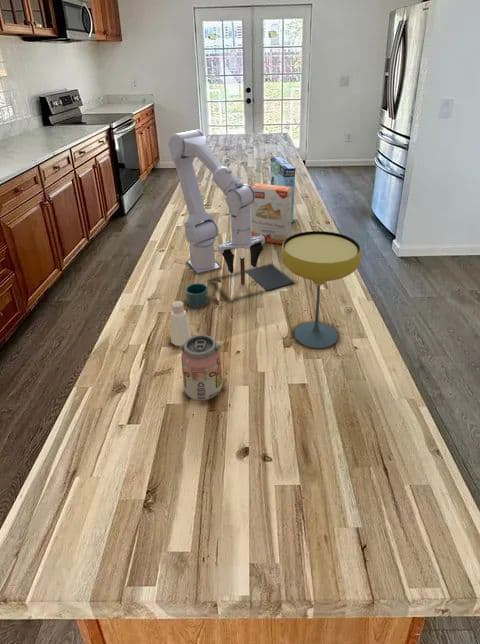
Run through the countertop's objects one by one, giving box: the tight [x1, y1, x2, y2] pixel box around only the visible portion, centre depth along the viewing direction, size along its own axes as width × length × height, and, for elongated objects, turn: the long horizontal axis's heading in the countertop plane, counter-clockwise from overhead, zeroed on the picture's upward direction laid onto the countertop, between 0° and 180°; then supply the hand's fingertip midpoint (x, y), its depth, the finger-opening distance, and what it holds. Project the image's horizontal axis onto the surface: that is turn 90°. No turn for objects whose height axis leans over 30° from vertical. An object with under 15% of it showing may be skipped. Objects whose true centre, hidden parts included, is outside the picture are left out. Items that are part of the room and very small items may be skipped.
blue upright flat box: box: [269, 156, 296, 223], centre depth 183 cm, size 20×5×23 cm, turn 13°
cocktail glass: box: [281, 230, 362, 349], centre depth 105 cm, size 18×18×25 cm
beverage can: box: [179, 334, 223, 402], centre depth 92 cm, size 9×8×12 cm
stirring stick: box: [239, 255, 246, 285], centre depth 132 cm, size 1×1×9 cm
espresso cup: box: [185, 283, 209, 308], centre depth 125 cm, size 6×6×4 cm
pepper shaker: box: [170, 300, 192, 347], centre depth 107 cm, size 5×5×11 cm
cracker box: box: [250, 182, 292, 245], centre depth 159 cm, size 14×6×21 cm, turn 68°
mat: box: [245, 264, 294, 292], centre depth 135 cm, size 14×22×1 cm, turn 116°
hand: (242, 268), depth 132 cm, fingers open, 7 cm apart
